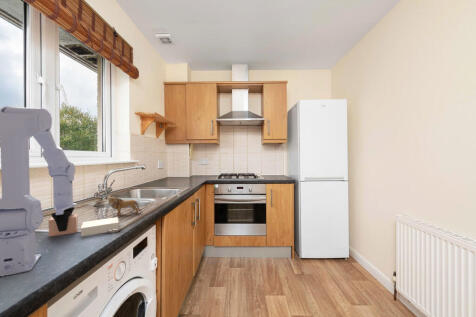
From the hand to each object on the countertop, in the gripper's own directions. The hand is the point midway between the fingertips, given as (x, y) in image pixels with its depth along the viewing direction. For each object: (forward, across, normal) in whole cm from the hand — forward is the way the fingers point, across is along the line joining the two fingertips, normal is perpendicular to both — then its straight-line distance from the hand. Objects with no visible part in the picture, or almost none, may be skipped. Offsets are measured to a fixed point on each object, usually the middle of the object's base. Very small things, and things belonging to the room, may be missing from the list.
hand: (64, 228), depth 81 cm
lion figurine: (+2, +16, -21) cm, 26 cm away
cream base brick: (+2, -4, -12) cm, 13 cm away
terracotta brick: (+1, 0, 0) cm, 1 cm away
